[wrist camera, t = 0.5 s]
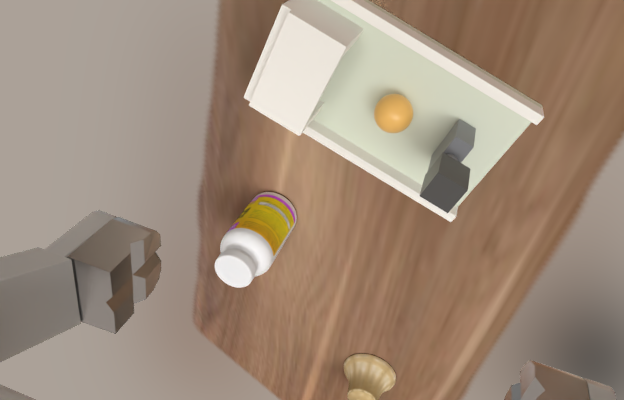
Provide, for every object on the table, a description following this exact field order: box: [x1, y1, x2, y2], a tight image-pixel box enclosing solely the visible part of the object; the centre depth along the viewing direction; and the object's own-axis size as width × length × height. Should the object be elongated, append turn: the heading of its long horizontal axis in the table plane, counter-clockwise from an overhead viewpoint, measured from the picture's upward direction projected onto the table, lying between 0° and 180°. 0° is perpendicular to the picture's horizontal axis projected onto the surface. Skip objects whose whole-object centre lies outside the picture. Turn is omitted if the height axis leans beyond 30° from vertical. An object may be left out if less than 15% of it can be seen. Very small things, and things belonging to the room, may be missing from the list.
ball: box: [374, 94, 413, 133], centre depth 52 cm, size 4×4×4 cm
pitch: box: [244, 0, 544, 222], centre depth 51 cm, size 15×26×8 cm, turn 64°
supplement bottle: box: [215, 192, 297, 288], centre depth 62 cm, size 7×7×13 cm
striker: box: [420, 119, 476, 213], centre depth 49 cm, size 5×3×11 cm, turn 154°
